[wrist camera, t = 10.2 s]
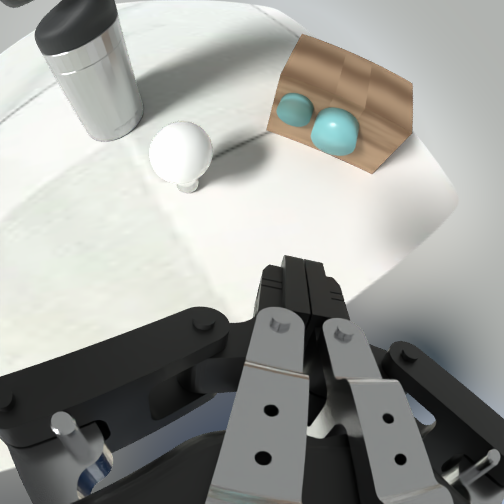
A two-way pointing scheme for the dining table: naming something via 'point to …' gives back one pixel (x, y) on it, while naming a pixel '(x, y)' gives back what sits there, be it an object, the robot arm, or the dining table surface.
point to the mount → (343, 100)
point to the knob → (335, 131)
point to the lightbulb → (181, 154)
